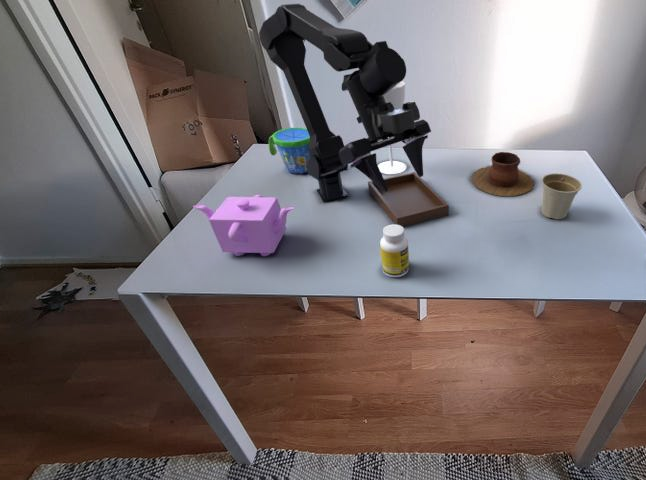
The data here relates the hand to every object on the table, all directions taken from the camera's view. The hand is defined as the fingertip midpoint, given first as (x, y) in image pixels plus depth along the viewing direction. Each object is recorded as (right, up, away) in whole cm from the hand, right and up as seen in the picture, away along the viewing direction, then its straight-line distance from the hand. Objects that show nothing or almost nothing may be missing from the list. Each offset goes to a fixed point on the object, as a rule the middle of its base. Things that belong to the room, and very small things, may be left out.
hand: (404, 183), depth 77 cm
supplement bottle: (-2, -17, +3) cm, 17 cm away
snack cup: (-34, +12, +35) cm, 50 cm away
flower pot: (+35, -3, +21) cm, 41 cm away
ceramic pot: (+24, +8, +34) cm, 42 cm away
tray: (-2, 0, +23) cm, 23 cm away
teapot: (-33, -12, +7) cm, 35 cm away
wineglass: (-8, +13, +38) cm, 41 cm away
